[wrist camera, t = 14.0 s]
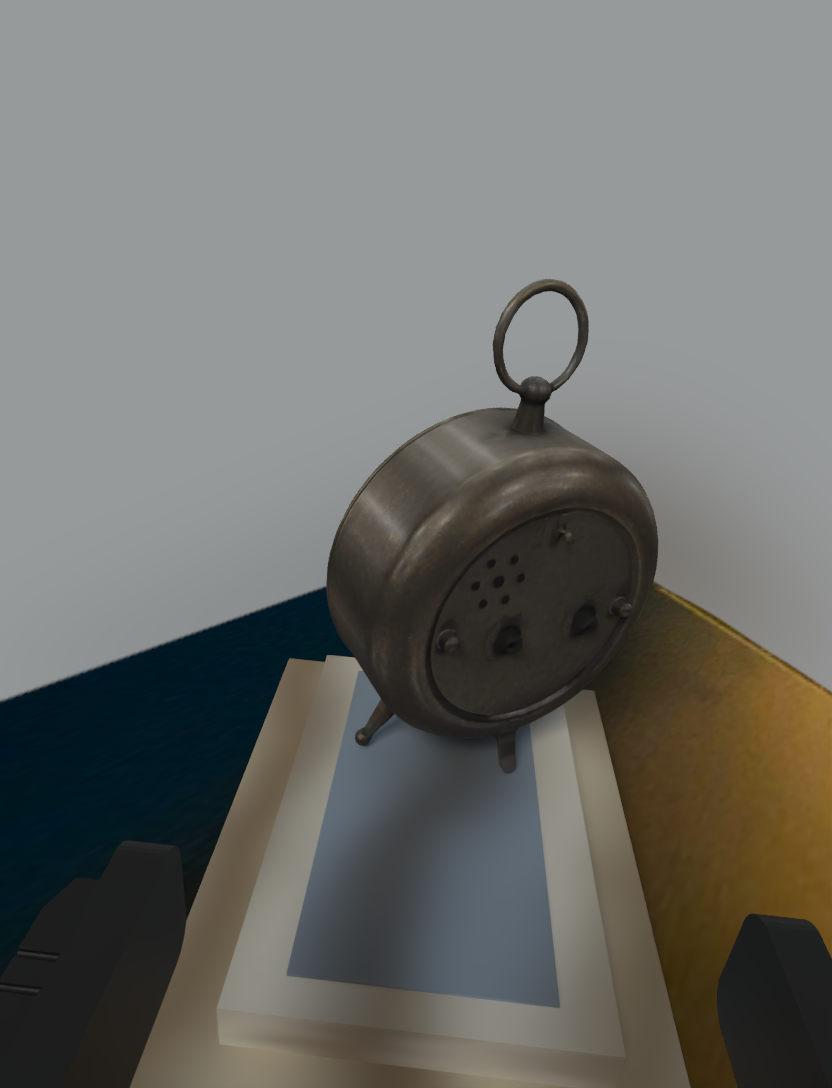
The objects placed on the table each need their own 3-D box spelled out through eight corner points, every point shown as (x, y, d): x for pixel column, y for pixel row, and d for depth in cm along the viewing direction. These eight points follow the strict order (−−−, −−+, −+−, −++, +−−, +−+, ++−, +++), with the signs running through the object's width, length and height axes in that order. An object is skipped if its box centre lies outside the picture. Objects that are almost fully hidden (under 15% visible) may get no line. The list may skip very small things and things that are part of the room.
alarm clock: (555, 664, 32) (632, 271, 24) (639, 743, 27) (764, 297, 20) (317, 725, 27) (327, 261, 20) (375, 833, 23) (415, 292, 15)
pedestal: (124, 1145, 18) (107, 1062, 16) (289, 693, 34) (289, 629, 32) (690, 1217, 18) (730, 1139, 16) (586, 725, 34) (600, 661, 32)
